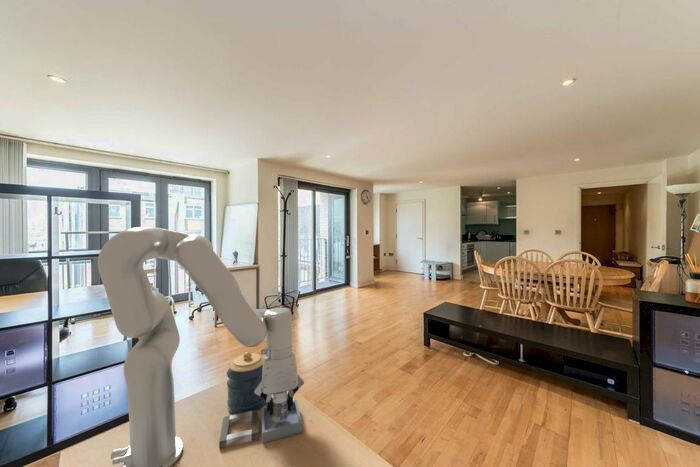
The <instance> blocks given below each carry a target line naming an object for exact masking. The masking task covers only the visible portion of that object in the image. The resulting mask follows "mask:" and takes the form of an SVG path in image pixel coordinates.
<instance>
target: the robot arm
mask: <svg viewBox="0 0 700 467" xmlns="http://www.w3.org/2000/svg"><path fill="white" fill-rule="evenodd" d="M151 259H162V260H165V261H166V260H167V261H172V262H173V261H175V262H177V264H178V265H179V266H180V267H181V269H182V270H183V271H184V272H185V273H186V274H187V276H188V277H189V278H190V279H191V281H192V283H194V284H195V285H196V286H197V288H198V289H199V290H200V291H201V293H202V294H203V295H204V296H205V297H206V299H207V300H208V303H209V304H210V306H211V307H212V309H213V311H215V312H214V313H215V314H216V315H217V316H218V317H217V318H219V320H220V321H221V323H222V324H223V326H224V327H225V328H226V329H227V330H228V332H229V333H230V334H231V335H232V336H233V338H234V339H236V341H237V342H238V343H240V345H242V346H243V347H246V348H255V347H257V346H260V345H261V343H263V342H264V341H265V347H264V348H261V349H260V355H264V356H263V357H264V360H263V368H262V379H261V381H260V382H259V383H258V385H257V386H256V388H255V389H254V393H255V394H257V395H259V396H261V397H262V398H263V399H264V400H266V402H267V403H266V407H267V411H270V415H272V397H273V393H279V392H284V391H287V395H288V411H291V406H293V401H294V396H295V394H296V393H297V392H298V391H299V389H300V388H301V387H302V386H304V385H305V381H304V379H303V378H302V377H301V376H300V374H298V366H297V365H298V364H297V358H296V355H295V352H294V351H293V323H292V322H293V321H292V320H293V316H292V311H291V309H289V308H287V307H275V308H270V309H267V308H265V309H264V308H263V309H262V308H261V309H260V308H252V307H251V306H250V305H249V303H248V302H247V300H246V298H245V296H244V295H243V293H242V291H241V289H240V286H239V283H238V281H237V280H236V278H235V276H234V274H233V273H232V272H231V271H230V270H229V269H228V268H227V265H225V264H224V262H223V261H222V260H221V259H220V257H219V256H218V255H217V253H216V252H215V251H214V247H213V244H212V243H211V241H210V240H209V239H208V238H207V237H205V236H202V235H197V234H191V233H186V232H181V231H175V230H170V229H165V228H162V227H155V226H154V227H153V226H135V227H131V228H127V229H123V230H122V231H120V232H118V233H116V234H115V235H113V236H112V237H111V238H109V240H107V241H106V242H105V243H104V245H103V246H102V247H101V249H100V251H99V254H98V258H97V268H98V273H99V275H100V279H101V281H102V284H103V288H104V290H105V293H106V297H107V301H108V304H109V307H110V310H111V311H110V312H111V314H112V316H113V320H114V322H115V326H116V329H117V330H118V332H119V333H120V334H121V335H122V336H124V337H125V338H129V339H138V341H137V343H135V345H134V346H133V347H132V348H131V349H130V351H129V353H128V354H127V355H126V358H125V359H124V364H123V377H124V380H125V385H126V390H127V403H128V405H127V407H128V419H129V420H128V422H129V444H128V446H127V447H120V448H117V449H113V450H112V451H111V454H110V459H111V460H112V461H111V462H112V463H111V465H112V466H113V465H117V464H120V463H124V464H123V465H122V467H172V466H173V465H174V464H175V463H176V462H177V461H178V460H179V458H180V457H181V455H182V454H183V449H184V445H183V440H182V439H181V438H180V437H177V435H176V434H177V432H176V430H177V429H176V410H175V409H176V404H175V403H176V401H175V383H174V374H173V366H172V363H173V359H174V357H175V354H176V352H177V351H178V348H179V346H180V342H181V340H180V338H181V337H180V333H179V329H178V327H177V326H178V325H177V322H176V319H175V316H174V313H173V309H172V306H171V304H170V302H169V300H168V298H167V297H166V296H165V295H164V294H163V293H161V292H160V291H157V290H156V291H155V290H152V287H151V283H150V279H149V277H148V275H147V273H146V271H145V270H144V264H145V262H146V261H149V260H151ZM261 388H262V390H261Z"/></svg>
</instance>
